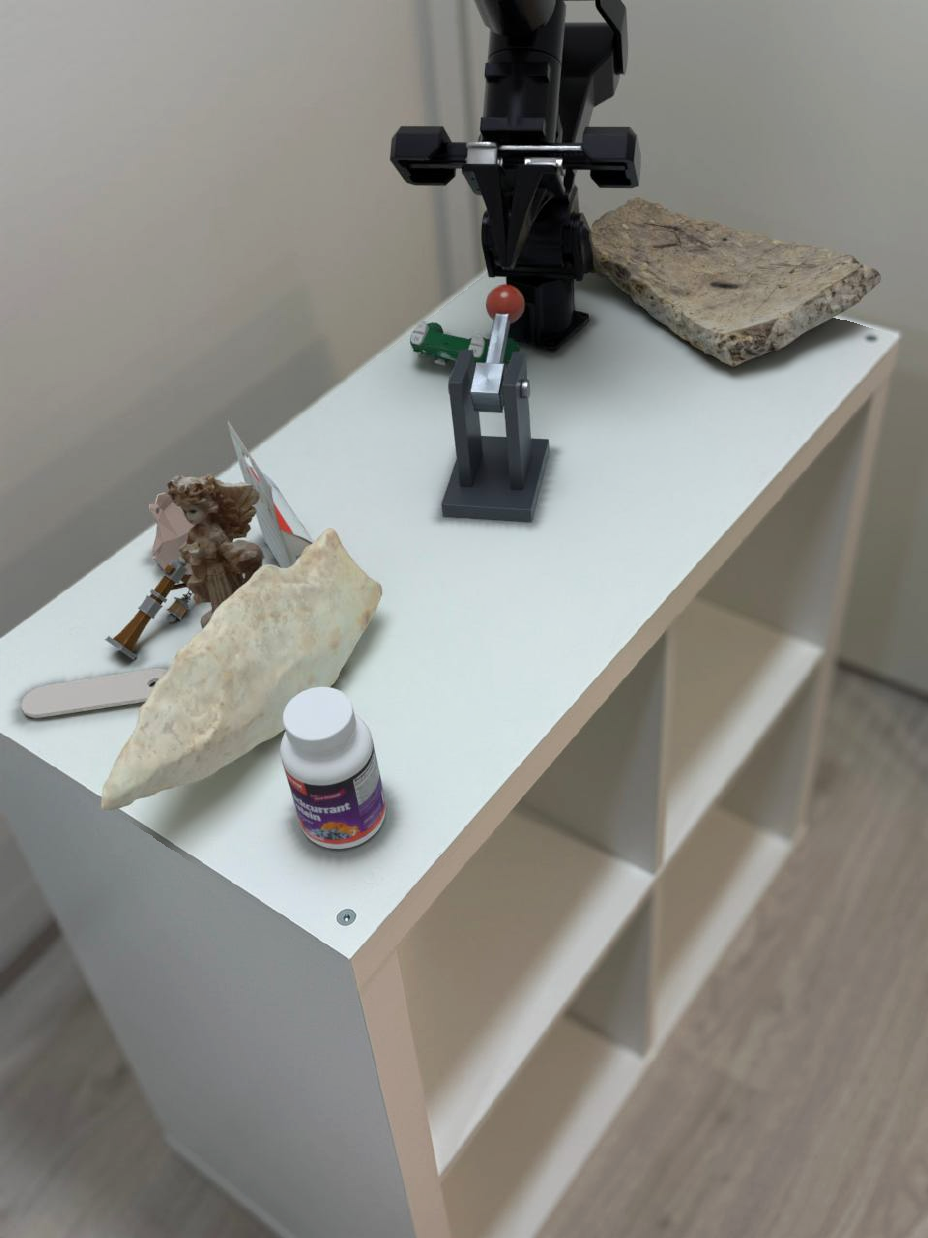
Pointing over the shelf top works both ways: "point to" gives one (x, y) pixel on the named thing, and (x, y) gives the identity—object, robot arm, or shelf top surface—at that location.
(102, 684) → the keychain
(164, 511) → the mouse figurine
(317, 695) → the pill bottle
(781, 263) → the stone fragment
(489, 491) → the bracket
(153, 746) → the arrowhead
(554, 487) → the shelf top surface
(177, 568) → the wooden post with brackets
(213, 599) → the figurine
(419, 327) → the gaming controller
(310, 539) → the ink box
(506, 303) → the lever
